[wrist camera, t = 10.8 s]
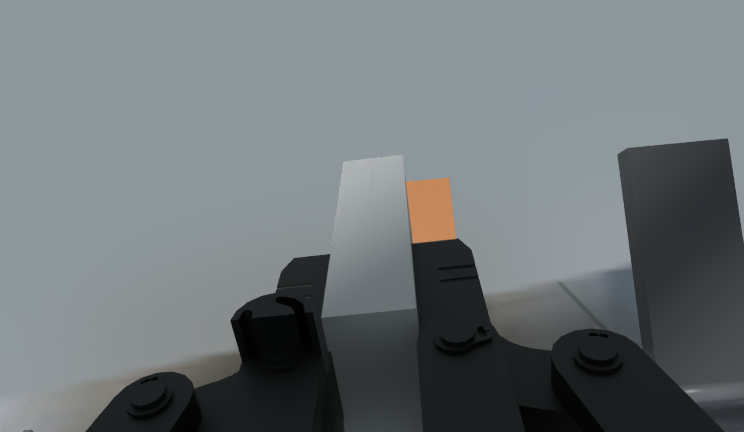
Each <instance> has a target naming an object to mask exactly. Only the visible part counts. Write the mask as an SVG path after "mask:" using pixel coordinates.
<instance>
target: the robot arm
mask: <svg viewBox="0 0 744 432" xmlns="http://www.w3.org/2000/svg"><path fill="white" fill-rule="evenodd" d="M231 324H232V328H233V331H234V335H235V338H236V342H237V345H238V349H239V352H240V356H241V359H242V364H241V367H240V370H239V372H237V373H235V374H234V375H232V376H229V377H227V378H225V379H222V380H220V381H217V382H213V383H210V384H207V385H204V386H201V387H198V388H195V389H194V387H193V384H192V382H191V381H190V380H189V379H188V378H187V377H186V376H185V375H183V374H179V373H175V372H162V373H155V374H152V375H149V376H146V377H143V378H140V379H139V380H137V381H135V382H133V383H132V384H130V385H128V386H126V387H125V388H124V389H123V390H122V391H121V392H120V393H119V394H118V395H116V396H115V397H114V398H113V400H112V401H111V402H110V403H109V404H108V406H107V407H106V408H105V409H104V410H103V412H102V413H101V414H100V415H99V416H98V418H97V419H96V420H95V421H94V422H93V423H92V425H91V426H90V427H89V428H88V429H87V431H86V432H343V426H344V430H345V432H725V431H724V430H723V429H722V428H721V427H720V426H719V425H718V424H717V423H716V422H715V421H714V420H713V419H712V418H711V417H710V416H709V415H708V414H707V413H706V412H705V411H704V410H703V409H702V408H701V407H700V406H699V405H698V404H697V403H696V402H695V401H694V400H693V399H692V398H691V397H690V396H689V395H688V394H687V393H686V392H685V391H684V390H682V389H681V388H680V387H679V386H678V385H677V384H676V383H675V382H674V381H673V380H672V379H671V378H670V377H669V376H668V375H667V374H666V373H665V372H664V371H663V370H662V369H661V368H660V367H659V366H658V365H657V364H656V363H655V362H654V361H653V360H652V359H651V358H650V357H649V356H648V355H647V354H646V353H645V352H644V351H643V350H642V349H641V348H640V347H639V346H638V345H637V344H635V343H634V342H632V341H631V340H630V339H628V338H627V337H625V336H622V335H620V334H617V333H614V332H611V331H607V330H598V329H585V330H577V331H573V332H571V333H568V334H566V335H564V336H561V337H560V339H559V340H558V341H557V342H556V343H555V344H554V345H553V348H552V351H548V350H540V349H533V348H528V347H523V346H519V345H517V344H514V343H512V342H509V341H507V340H506V339H504V338H503V337H501V336H500V335H499V334H498V333H497V331H496V329H495V328H494V326H492V324H491V322H490V319H489V315H488V311H487V308H486V304H485V300H484V296H483V292H482V289H481V285H480V281H479V278H478V273H477V269H476V267H475V262H474V258H473V254H472V251H471V249H470V248H469V247H467V246H466V245H465V244H464V243H463V242H462V241H460V240H459V239H450V240H441V241H431V242H422V243H413V238H412V230H411V221H410V212H409V204H408V195H407V187H406V179H405V170H404V162H403V155H397V156H389V157H380V158H371V159H363V160H354V161H346V162H344V164H343V170H342V178H341V184H340V191H339V198H338V205H337V212H336V218H335V225H334V233H333V240H332V246H331V253H330V254H327V255H318V256H309V257H301V258H294V259H293V260H292V261H291V262H290V263H289V264H288V265H287V266H286V267H285V268H284V269H283V271H282V272H281V274H280V278H279V282H278V285H277V290H276V293H273V294H268V295H264V296H261V297H258V298H256V299H254V300H252V301H250V302H248V303H246V304H245V305H244V306H242V307H241V308H240V309H238V310H237V311H236V313H235V314H234V316H233V317H232V319H231Z"/></svg>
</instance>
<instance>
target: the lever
mask: <svg viewBox="0 0 744 432" xmlns="http://www.w3.org/2000/svg"><path fill="white" fill-rule="evenodd" d="M406 187H407V195H408V204H409V212H410V221H411V230H412V238H413V243H422V242H431V241H441V240H450V239H456V232H455V224H454V216H453V207H452V198H451V190H450V181H449V178H442V179H431V180H421V181H412V182H406Z"/></svg>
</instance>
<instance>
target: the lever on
mask: <svg viewBox="0 0 744 432" xmlns="http://www.w3.org/2000/svg"><path fill="white" fill-rule="evenodd" d="M618 162H619V170H620V177H621V185H622V193H623V201H624V209H625V216H626V224H627V232H628V240H629V247H630V255H631V263H632V271H633V278H634V286H635V294H636V302H637V309H638V317H639V325H640V333H641V340H642V348H643V351H644V352H645V353H646V354H647V355H648V356H649V357H650V358H651V359H652V360H653V361H654V362H655V363H656V364H657V365H658V366H659V367H660V368H661V369H662V370H663V371H664V372H665V373H666V374H667V375H668V376H669V377H670V378H671V379H672V380H673V381H674V382H675V383H676V384H677V385H678V386H679V387H680V388H681V389H682V390H684V391H685V392H686V393H687V394H688V395H689V396H690V397H691V398H692V399H693V400H694V401H695V402H696V403H710V402H724V401H738V400H744V244H743V237H742V230H741V223H740V217H739V210H738V203H737V196H736V190H735V183H734V177H733V170H732V163H731V156H730V150H729V143H728V139H718V140H707V141H697V142H686V143H676V144H667V145H656V146H645V147H635V148H627V149H625V150H624V151H622V152H621V153H619V154H618Z"/></svg>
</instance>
